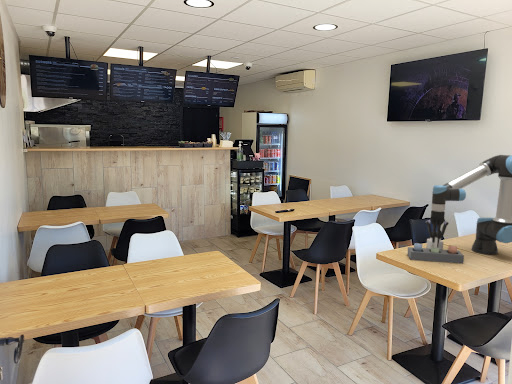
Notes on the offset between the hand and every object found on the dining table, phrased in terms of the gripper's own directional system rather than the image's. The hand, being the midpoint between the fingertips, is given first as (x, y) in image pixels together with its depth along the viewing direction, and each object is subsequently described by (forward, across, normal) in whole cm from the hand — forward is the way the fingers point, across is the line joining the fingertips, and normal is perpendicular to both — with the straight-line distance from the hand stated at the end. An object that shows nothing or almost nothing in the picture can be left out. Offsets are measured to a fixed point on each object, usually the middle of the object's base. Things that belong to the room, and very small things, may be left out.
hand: (435, 247), depth 236 cm
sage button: (+5, 0, 0) cm, 5 cm away
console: (+7, 0, 0) cm, 7 cm away
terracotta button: (+3, -10, 0) cm, 11 cm away
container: (+8, -4, -18) cm, 20 cm away
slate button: (+4, +10, 0) cm, 11 cm away
